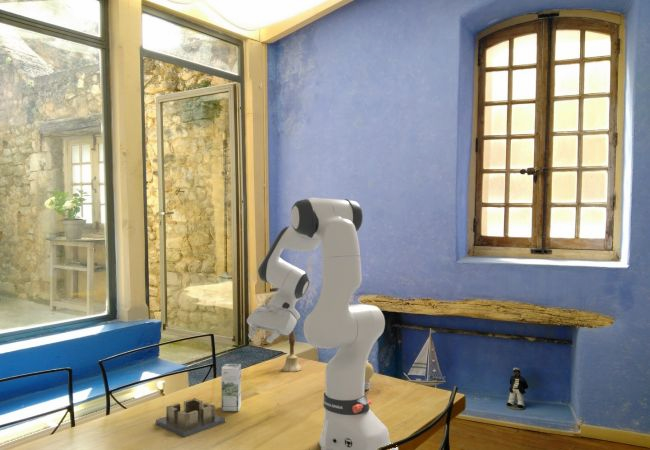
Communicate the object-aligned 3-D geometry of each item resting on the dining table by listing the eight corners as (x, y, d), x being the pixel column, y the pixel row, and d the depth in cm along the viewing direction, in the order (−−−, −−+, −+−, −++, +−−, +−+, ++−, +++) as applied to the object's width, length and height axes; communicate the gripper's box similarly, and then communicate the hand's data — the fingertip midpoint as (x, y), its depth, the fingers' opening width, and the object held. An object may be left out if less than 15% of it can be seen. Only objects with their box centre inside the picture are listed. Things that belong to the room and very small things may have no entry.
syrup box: (241, 405, 179) (241, 363, 179) (238, 412, 173) (238, 368, 173) (224, 405, 179) (224, 363, 179) (220, 412, 173) (221, 368, 173)
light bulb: (372, 392, 194) (372, 365, 193) (355, 391, 195) (355, 364, 195) (374, 386, 200) (374, 360, 200) (357, 385, 201) (357, 359, 201)
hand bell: (280, 366, 225) (281, 329, 225) (300, 366, 227) (300, 328, 227) (282, 372, 217) (283, 333, 217) (302, 371, 219) (303, 333, 219)
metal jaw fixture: (225, 422, 165) (225, 405, 165) (184, 437, 154) (184, 419, 153) (196, 410, 175) (196, 394, 175) (155, 423, 163) (155, 407, 163)
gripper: (255, 299, 197) (235, 329, 190) (295, 306, 184) (274, 339, 177) (264, 309, 201) (244, 339, 194) (304, 317, 188) (284, 349, 181)
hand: (259, 339), depth 185 cm, fingers open, 8 cm apart
